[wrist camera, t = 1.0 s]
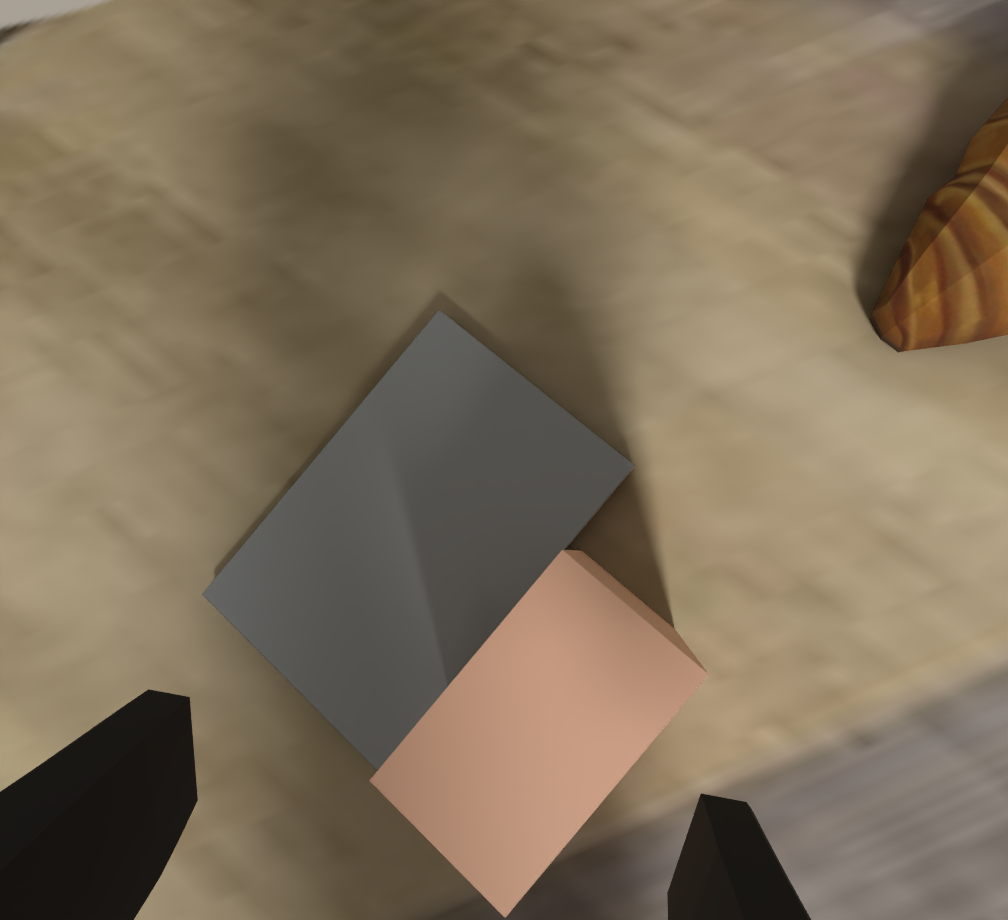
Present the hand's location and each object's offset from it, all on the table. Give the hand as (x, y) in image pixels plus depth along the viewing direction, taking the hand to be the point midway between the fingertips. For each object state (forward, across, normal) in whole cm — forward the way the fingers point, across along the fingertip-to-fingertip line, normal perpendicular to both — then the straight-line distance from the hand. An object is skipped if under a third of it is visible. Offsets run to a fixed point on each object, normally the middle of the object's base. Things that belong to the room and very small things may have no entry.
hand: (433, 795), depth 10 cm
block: (+10, -2, +6) cm, 12 cm away
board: (+12, +3, +3) cm, 13 cm away
